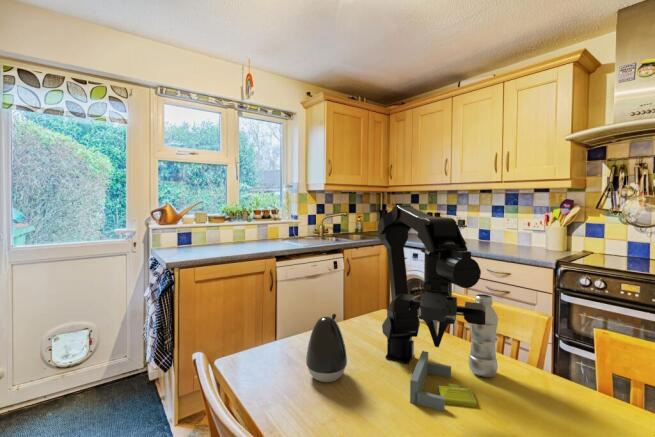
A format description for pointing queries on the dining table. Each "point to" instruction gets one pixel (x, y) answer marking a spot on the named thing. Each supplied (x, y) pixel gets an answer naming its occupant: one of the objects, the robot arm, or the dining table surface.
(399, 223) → the robot arm
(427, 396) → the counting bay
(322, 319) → the dark grey egg shape
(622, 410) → the dining table surface
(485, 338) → the plastic bottle
